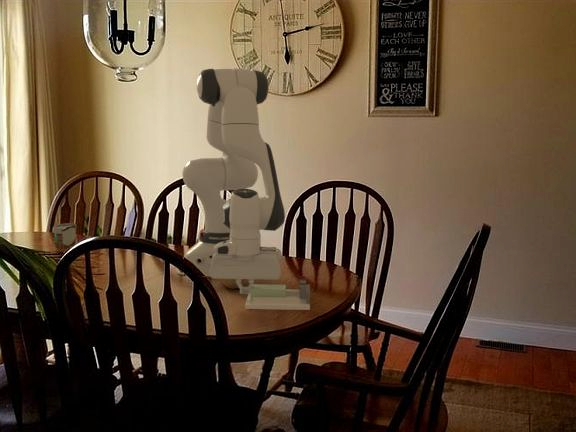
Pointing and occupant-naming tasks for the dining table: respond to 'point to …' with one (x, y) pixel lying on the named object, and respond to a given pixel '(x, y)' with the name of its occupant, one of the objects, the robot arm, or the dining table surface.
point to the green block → (267, 291)
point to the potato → (233, 283)
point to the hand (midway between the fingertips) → (245, 293)
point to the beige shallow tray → (283, 300)
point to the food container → (65, 235)
